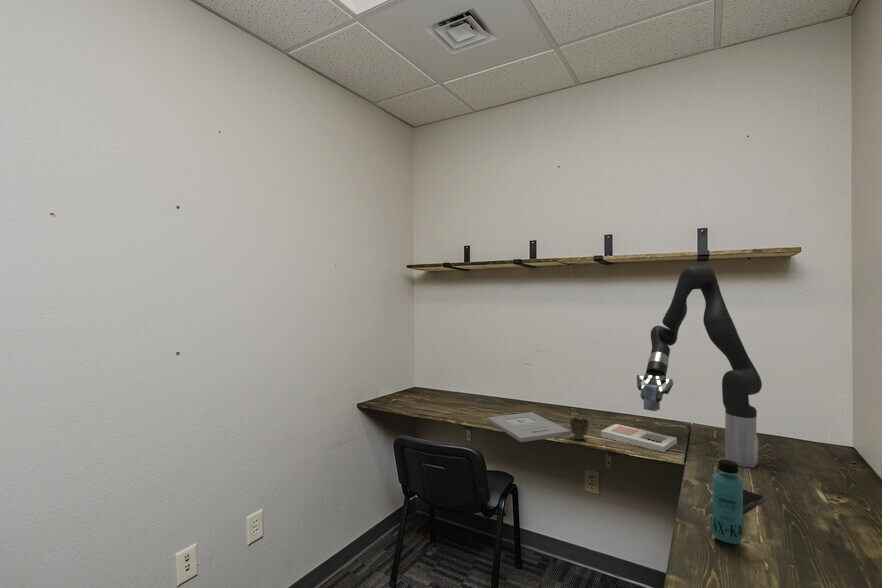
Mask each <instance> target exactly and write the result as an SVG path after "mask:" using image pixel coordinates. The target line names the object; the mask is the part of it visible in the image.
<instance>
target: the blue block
mask: <svg viewBox="0 0 882 588" xmlns="http://www.w3.org/2000/svg"><path fill="white" fill-rule="evenodd" d="M643 385H644V384H643ZM658 391H659V386H658V385H652V384H647V385H644V400H643V410H647V411H651V412H657V411H659V410H660V409H661V407H660V404H661V403H660V402H661V401H660V402H657V395H658Z"/></svg>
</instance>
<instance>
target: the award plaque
mask: <svg viewBox="0 0 882 588" xmlns="http://www.w3.org/2000/svg"><path fill="white" fill-rule="evenodd" d="M486 422H487V423H489V424H491V425H493V426H494V427H496V428H497V429H499V430H500V431H502V432H504V433H505V434H506V435H509V436H510V437H512V438H513V439H514V440H517V441H518V442H519V443H525V442H532V441H540V440H545V439H552V438H553V439H554V438H558V437H566V436H571V435H572V431H571V429H568V428H566V427H563V426H561V425H559V424H558V423H555V422H554V421H552V420H548V419H547V418H545V417H543V416H541V415H538V414H536V413H534V412H532V411H531V412H530V411H529V412H523V413H522V412H521V413H515V414H506V415H498V416H491V417H486Z"/></svg>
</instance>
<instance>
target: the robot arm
mask: <svg viewBox="0 0 882 588" xmlns="http://www.w3.org/2000/svg"><path fill="white" fill-rule="evenodd" d="M720 289H721V287H720V285H719V282H718V279H717V276H716V273H715V272H714V270H713V269H712V268H711V267H710V266H708V265H694V266H693V265H692V266H687V267H685V268H683V269H682V271H681V272H680V275H679V277H678V281H677V284H676V287H675V290H674V292H673V293H674V294H673V297H672V300H671V303H670V305H669V307H668V309H667V310H666V313H664V316H663V318H662V320H661V321H662V324H663V326H662V325H655V326H654V327H652V328H651V330H650V341H651V351H650V355H649V358H648V361H647V365H646V370H645V374H644V375H639V374H637V375H636V386H637V389H638V391H640V398H641V399H642V401H644V385H647V384H652V385H658V386H659V391H658V395H657V402H662V400H663V395H668V394H669V393H670V391H671V389H672V388H673V386H674V380H673V379H672V378H667V371H668V368H669V358H670V353H671V348H670V347H669V346H671V347H672V346H674V345H675V344H676V343H677V340H678V335H679V334H678V333H679V330H680V327H681V325H682V323H683V322H684V320H685V318H686V316H687V313H688V305H687V300H688V297H689V295H690V294H691V293H692V291H693V290H701V293H702V295H703V298H704V302H705V306H704V307H705V308H704V313H703V320H702V321H703V326H704V328H705V330H706V333H707V335H708V338H709V339H710V341H711V342H712V344H713V345H714V346H715V347H716V348H717V349H718V350H719V351H720V352H721V353H722V355H724V356H725V357H726V359H727V360H728V362H729V364H730V367H731V369H732V370H728V371H726V372H725V373H724V375H723V376H722V379H721V388H722V389H721V392H722V403H723V406H724V411H725V414H724V415H725V416H724V419H725V420H724V422H725V423H724V424H725V427H724V428H725V429H724V430H725V431H724V435H725V436H724V460H730V461H733V462H736V463H737V464H738V467H745V468H753V469H754V468H755V467H756V466H757V465H758V460H759V458H758V457H759V455H758V452H759V449H758V448H759V444H758V442H759V437H758V436H757V415H758V414H757V413H758V412H757V409H756V407H754V406H752V405H750V398H749V397H750V396H752V395H756V394H758V393H760V391H761V390H762V388H763V387H762V386H763V383H762V378H761V376H760V373H759V372H758V371H757V369H756V367H755V365H754V364H753V362H752V361H751V358H750V356H749V355H748V353H747V351H746V349H745V347H744V343H743V342H742V340H741V337H740V335H739V334H738V331H737V328H736V325H735V323H734V321H733V318H732V317H731V314H730V313H729V310H728V308H727V306H726V303H725V300H724V298H723V296H722V292H721V290H720ZM643 380H644V381H643ZM642 382H644V384H643V385H642ZM665 383H666V386H665V387H664V389H663V387H662V385H664V384H665Z"/></svg>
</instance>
